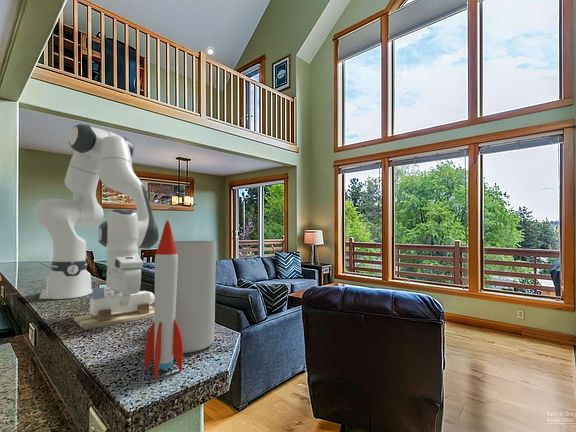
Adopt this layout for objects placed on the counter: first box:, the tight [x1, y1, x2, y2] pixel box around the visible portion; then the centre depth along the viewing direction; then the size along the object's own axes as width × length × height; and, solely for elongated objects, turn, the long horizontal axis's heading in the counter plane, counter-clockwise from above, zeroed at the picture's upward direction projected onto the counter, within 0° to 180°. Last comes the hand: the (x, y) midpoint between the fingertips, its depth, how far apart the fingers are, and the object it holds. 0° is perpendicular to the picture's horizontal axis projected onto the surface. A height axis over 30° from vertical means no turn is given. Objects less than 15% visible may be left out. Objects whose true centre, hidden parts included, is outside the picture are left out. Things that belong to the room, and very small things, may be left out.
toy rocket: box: [144, 220, 184, 380], centre depth 64 cm, size 6×6×30 cm
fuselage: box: [89, 287, 155, 316], centre depth 100 cm, size 4×18×8 cm, turn 135°
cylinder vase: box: [174, 240, 217, 354], centre depth 78 cm, size 12×12×25 cm
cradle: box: [73, 303, 155, 331], centre depth 99 cm, size 12×22×4 cm, turn 135°
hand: (121, 304), depth 99 cm, fingers closed on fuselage, 4 cm apart
